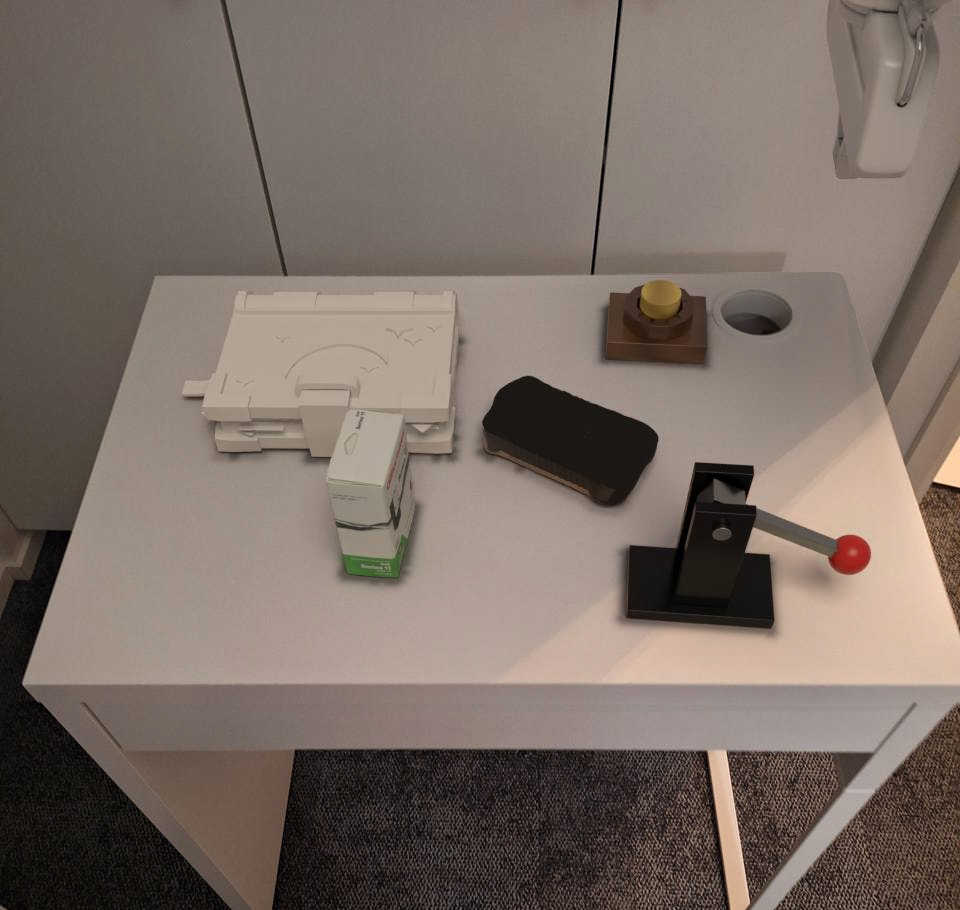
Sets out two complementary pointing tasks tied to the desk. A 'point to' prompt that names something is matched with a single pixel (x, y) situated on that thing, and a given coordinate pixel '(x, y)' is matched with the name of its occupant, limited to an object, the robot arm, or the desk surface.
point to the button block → (656, 330)
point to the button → (660, 299)
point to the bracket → (705, 563)
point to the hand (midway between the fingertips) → (845, 168)
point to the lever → (797, 531)
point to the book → (333, 368)
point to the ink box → (372, 491)
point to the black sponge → (569, 439)
